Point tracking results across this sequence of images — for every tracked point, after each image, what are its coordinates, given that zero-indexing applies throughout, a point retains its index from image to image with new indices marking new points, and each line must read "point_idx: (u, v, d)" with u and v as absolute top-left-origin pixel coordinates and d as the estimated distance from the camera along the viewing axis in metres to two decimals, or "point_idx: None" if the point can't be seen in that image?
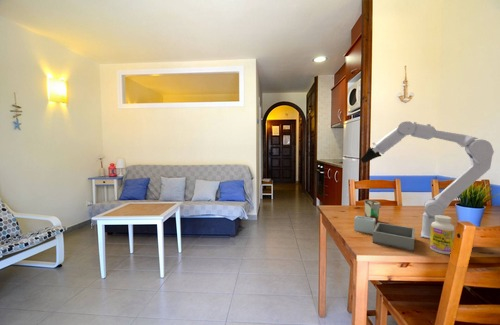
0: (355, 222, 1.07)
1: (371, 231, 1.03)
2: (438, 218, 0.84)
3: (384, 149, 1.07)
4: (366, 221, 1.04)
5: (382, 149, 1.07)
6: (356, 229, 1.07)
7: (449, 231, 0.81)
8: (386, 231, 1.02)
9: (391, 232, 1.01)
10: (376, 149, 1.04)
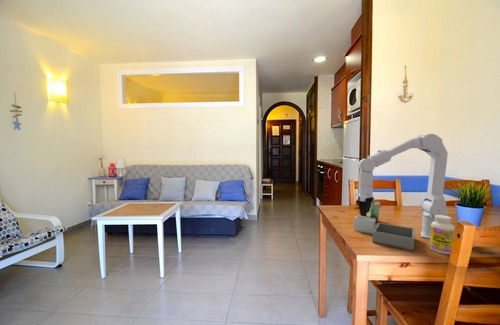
0: (355, 222, 1.07)
1: (371, 231, 1.03)
2: (438, 218, 0.84)
3: (369, 192, 1.03)
4: (366, 221, 1.04)
5: (367, 193, 1.03)
6: (356, 229, 1.07)
7: (449, 231, 0.81)
8: (386, 231, 1.02)
9: (391, 232, 1.01)
10: (362, 198, 1.00)
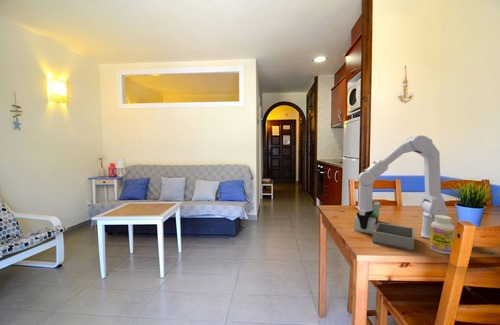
0: (355, 222, 1.07)
1: (371, 231, 1.03)
2: (438, 218, 0.84)
3: (368, 206, 1.03)
4: None
5: (367, 207, 1.03)
6: (356, 229, 1.07)
7: (449, 231, 0.81)
8: (386, 231, 1.02)
9: (391, 232, 1.01)
10: (362, 212, 1.00)
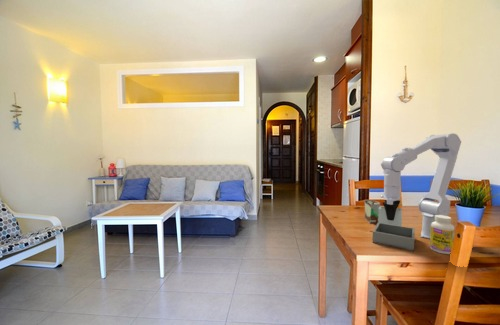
0: (379, 213, 0.96)
1: (398, 223, 0.92)
2: (438, 218, 0.84)
3: (396, 194, 0.92)
4: None
5: (395, 195, 0.92)
6: (381, 221, 0.96)
7: (449, 231, 0.81)
8: (386, 231, 1.02)
9: (391, 232, 1.01)
10: (390, 201, 0.89)
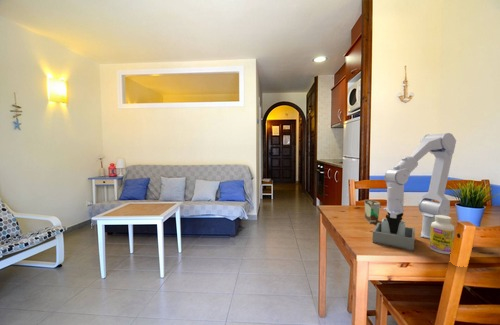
0: (382, 226, 0.95)
1: None
2: (438, 218, 0.84)
3: (400, 207, 0.91)
4: None
5: (398, 209, 0.91)
6: None
7: (449, 231, 0.81)
8: None
9: None
10: (393, 214, 0.88)
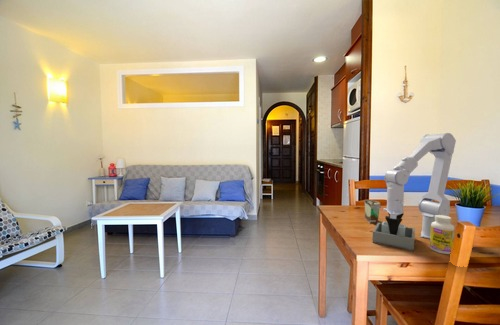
0: (382, 229, 0.95)
1: None
2: (438, 218, 0.84)
3: (400, 208, 0.91)
4: None
5: (398, 209, 0.91)
6: None
7: (449, 231, 0.81)
8: None
9: None
10: (393, 215, 0.88)
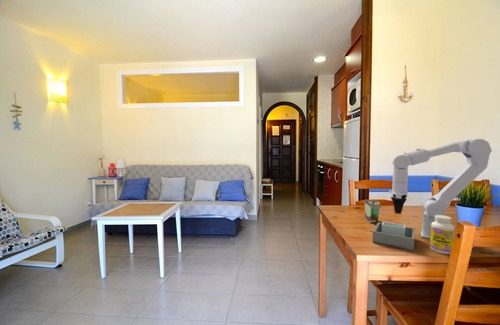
0: (382, 229, 0.95)
1: None
2: (438, 218, 0.84)
3: (404, 189, 1.01)
4: (396, 228, 0.92)
5: (402, 190, 1.01)
6: None
7: (449, 231, 0.81)
8: None
9: None
10: (399, 195, 0.98)
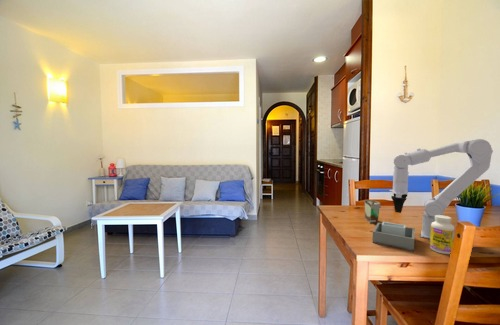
0: (382, 229, 0.95)
1: None
2: (438, 218, 0.84)
3: (404, 189, 1.03)
4: (396, 228, 0.92)
5: (403, 190, 1.03)
6: None
7: (449, 231, 0.81)
8: None
9: None
10: (399, 194, 1.00)
